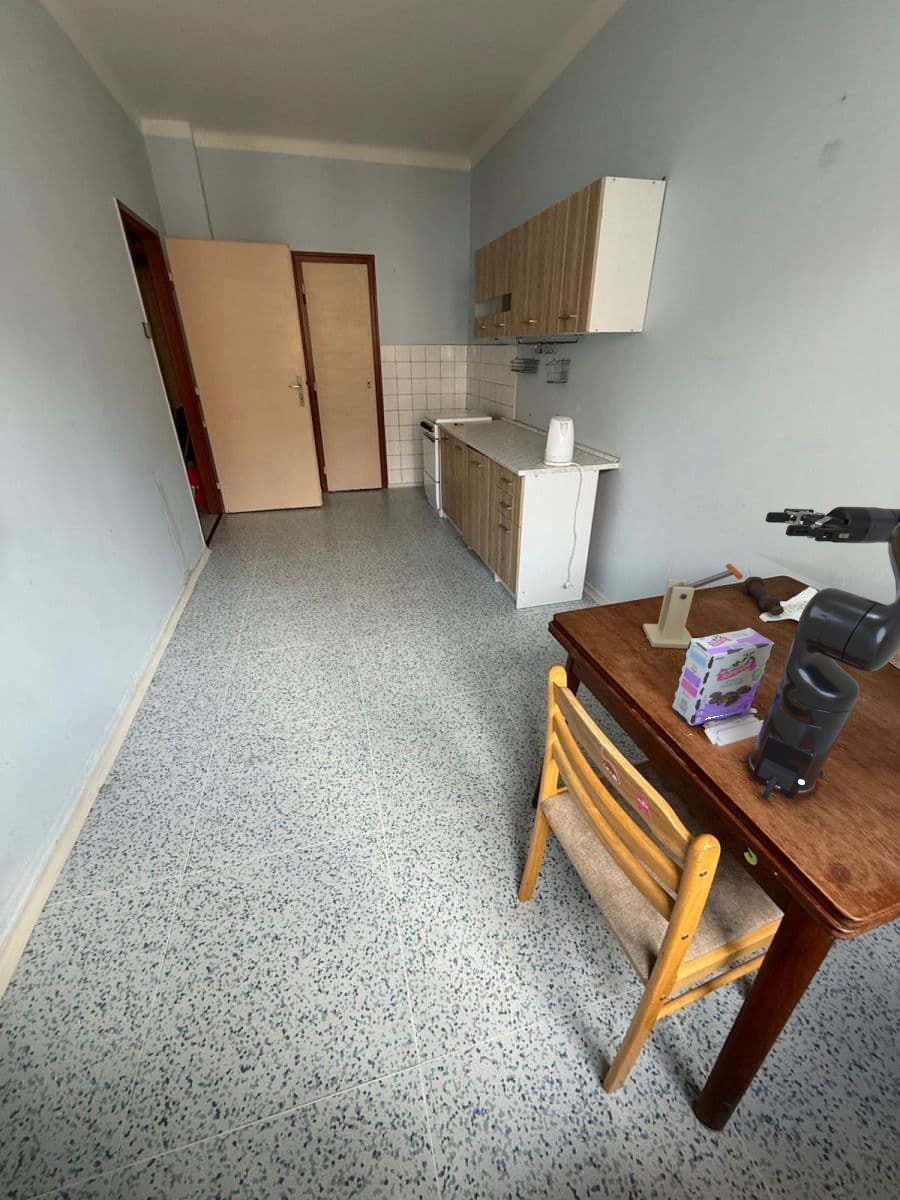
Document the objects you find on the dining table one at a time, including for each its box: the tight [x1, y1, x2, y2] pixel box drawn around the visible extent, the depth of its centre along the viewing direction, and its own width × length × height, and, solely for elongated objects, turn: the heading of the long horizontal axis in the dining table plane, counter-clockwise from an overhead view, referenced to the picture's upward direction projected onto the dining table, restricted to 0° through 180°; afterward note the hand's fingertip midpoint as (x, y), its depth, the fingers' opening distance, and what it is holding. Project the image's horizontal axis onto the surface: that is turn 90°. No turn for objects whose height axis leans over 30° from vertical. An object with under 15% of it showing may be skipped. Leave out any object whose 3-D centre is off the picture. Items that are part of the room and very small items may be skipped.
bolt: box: [741, 576, 785, 617], centre depth 128 cm, size 6×5×15 cm
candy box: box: [671, 627, 775, 727], centre depth 89 cm, size 14×6×16 cm, turn 105°
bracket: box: [642, 578, 696, 649], centre depth 112 cm, size 10×9×15 cm
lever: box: [671, 563, 744, 591], centre depth 108 cm, size 14×6×2 cm, turn 84°
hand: (776, 523), depth 100 cm, fingers open, 8 cm apart
